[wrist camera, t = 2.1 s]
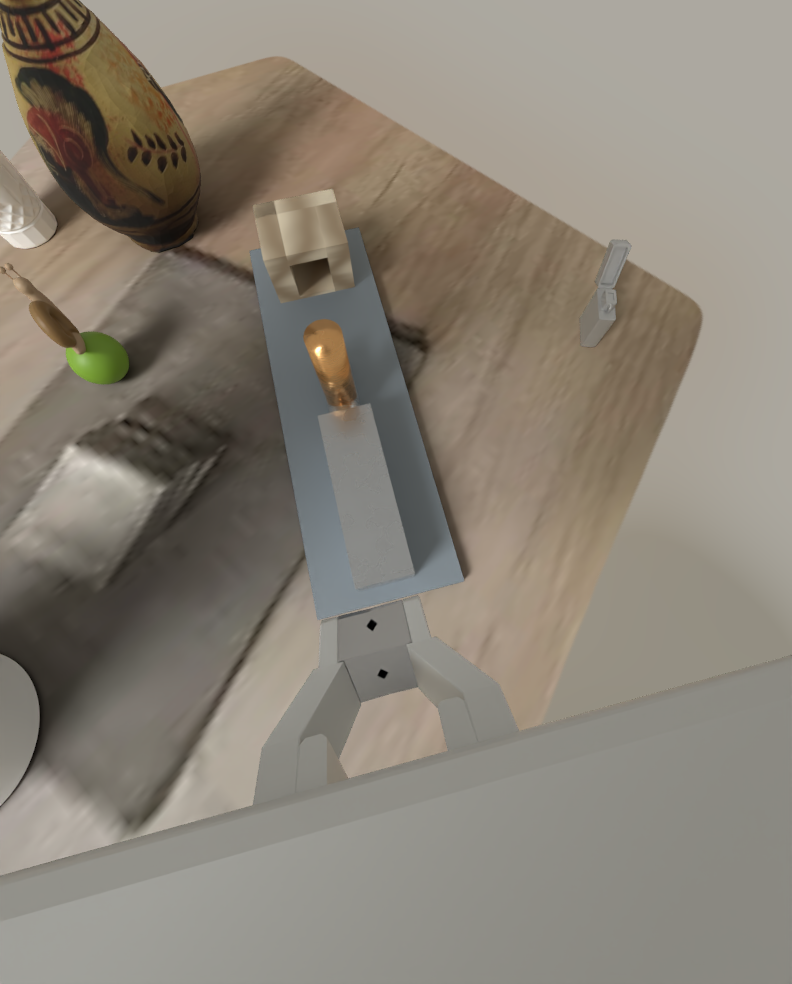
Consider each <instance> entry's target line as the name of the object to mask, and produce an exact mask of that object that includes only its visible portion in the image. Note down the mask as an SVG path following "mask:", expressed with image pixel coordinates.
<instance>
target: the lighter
mask: <svg viewBox="0 0 792 984" xmlns="http://www.w3.org/2000/svg"><path fill="white" fill-rule="evenodd" d="M630 249H631V244H630V243H629V242H628V241H627V240H611V241H610V243H609V246H608V248H607V251H606V253H605V256H604V259H603V261H602V264H601V267H600V269H599V272H598V274H597V277H596V280H595V283H596V285H597V286H598V287H599V288H598V289H597V290H596V292H595V293H594V295H593V297H592V298H591V300H590V302H589V303H588V305H587V306H586V308H585V310H584V311H583V313H582V315H581V316H580V340H581V346H585V347H595V346H596V345H597V344H598V343H599V341H600V340H601V339H602V337H603V336H604V335H605V333H606V332H607V331H608V329H609V328H610V327H611V325H612V324H613V322H614V321H615V320H616V314H615V305H616V304H617V297H616V290H613V289H612V288H614V287H615V284H616V282H617V280H618V277H619V275H620V273H621V270H622V268H623V265H624V263H625V261H626V258H627V256H628V254H629V251H630Z"/></svg>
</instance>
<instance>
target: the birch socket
mask: <svg viewBox="0 0 792 984" xmlns="http://www.w3.org/2000/svg"><path fill="white" fill-rule="evenodd" d="M252 206H253V211H254V216H255V221H256V226H257V232H258V237H259V242H260V247H261V252H262V257H263V261H264V264H265V266H266V269H267V271H268V274H269V276H270V278H271V281H272V283H273V286H274V288H275V290H276V293H277V295H278V298H279V300H280V303H285V302H290V301H294V300H299V299H303V298H308V297H312V296H317V295H321V294H326V293H330V292H335V291H339V290H344V289H348V288H353V287H355V284H354V278H353V272H352V265H351V259H350V252H349V246H348V241H347V238H346V234H345V230H344V227H343V223H342V220H341V216H340V213H339V209H338V206H337V202H336V199H335V195H334V192H333V189H329V190H324V191H319V192H315V193H310V194H305V195H300V196H295V197H291V198H286V199H281V200H276V201H271V202H266V203H262V204H257V205H252Z"/></svg>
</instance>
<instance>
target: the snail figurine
mask: <svg viewBox="0 0 792 984" xmlns="http://www.w3.org/2000/svg"><path fill="white" fill-rule="evenodd" d="M4 266H5V268H6V269H8V270H13V266H12V265H11V264H9V263H6V264H5V265H4ZM5 268H3V267H0V273H2V274H4V273H5V274H6V275H8V274H7V273H6V270H5ZM13 271H14V270H13ZM14 272H15V271H14ZM15 273H16V274H17V275H18V276H19V277H16V278H15V279H13V278H11V277H10V276H9V275H8V276H9V277H10V278H11V279H12V280H13V283H14V286H15V287H16V288H17V290H19V291H20V292H22V293H23V294H25V295H26V296H27V297H28V298H29V299H30V300H31V301H32V302H31V303H30V305H29V311H30V314H31V316H32V317H33V319H34V320H35V322H36V323H37V324H38V326H39V327H40V328H41V329H42V330H43V331H44V333H46V334H47V335H48V336H49V337H50V338H51V339H52V340H53V341H55V342H56V343H57V344H59V345H60V346H62V347H65V348H66V358H67V361H68V363H69V365H70V367H71V368H72V369H73V371H74V372H75V373H76V374H78V375H79V376H80V377H82V378H83V379H85V380H87V381H89V382H92V383H96V384H112V383H115V382H117V381H119V380H121V379H122V378H123V377H124V376H125V375H126V373H127V372H128V369H129V358H128V355H127V353H126V351H125V349H124V348H123V346H122V345H121V344H120V343H119V342H118V341H116V340H115V339H114V338H112V337H110V336H108V335H106V334H103V333H99V332H83V333H79V331H78V330H77V328H76V327H75V326H74V325H73V324H72V323H71V321H70V320H69V319H68V318H67V317H66V316H65V315H64V314H63V313H62V312H61V311H60V310H59V309H58V308H57V307H56V306H55V305H54V304H53V303H52V302H51V301H50V300H49V299H48V298H47V297H46V296H45V295H43V294H42V293H41V292H40V291H38V290H37V289H36V288H35V287H34V286H33V285H32V283H31V282H30V281H29V280H27V279H25V278H23V277H21V276H20V275H19V274H18V273H17V272H15Z"/></svg>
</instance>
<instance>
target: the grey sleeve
mask: <svg viewBox="0 0 792 984" xmlns="http://www.w3.org/2000/svg"><path fill="white" fill-rule="evenodd" d="M318 420H319V425H320V429H321V434H322V439H323V443H324V448H325V453H326V457H327V462H328V466H329V471H330V476H331V480H332V485H333V490H334V494H335V499H336V503H337V508H338V513H339V517H340V522H341V527H342V531H343V536H344V540H345V545H346V550H347V554H348V559H349V563H350V568H351V573H352V577H353V582H354V587H355V589H356V590H360V591H364V590H367V589H371V588H375V587H379V586H383V585H386V584H390V583H394V582H398V581H402V580H405V579H409V578H413V577H414V575H415V571H414V568H413V564H412V560H411V556H410V552H409V549H408V545H407V541H406V537H405V533H404V530H403V526H402V522H401V518H400V514H399V511H398V507H397V503H396V499H395V495H394V492H393V488H392V484H391V480H390V476H389V473H388V469H387V465H386V461H385V457H384V454H383V450H382V446H381V442H380V438H379V435H378V431H377V427H376V423H375V420H374V416H373V412H372V408H371V404H370V403H369V404H365V405H361V406H357V407H352V408H348V409H344V410H340V411H336V412H331V413H327V414H323V415H319V416H318Z"/></svg>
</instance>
